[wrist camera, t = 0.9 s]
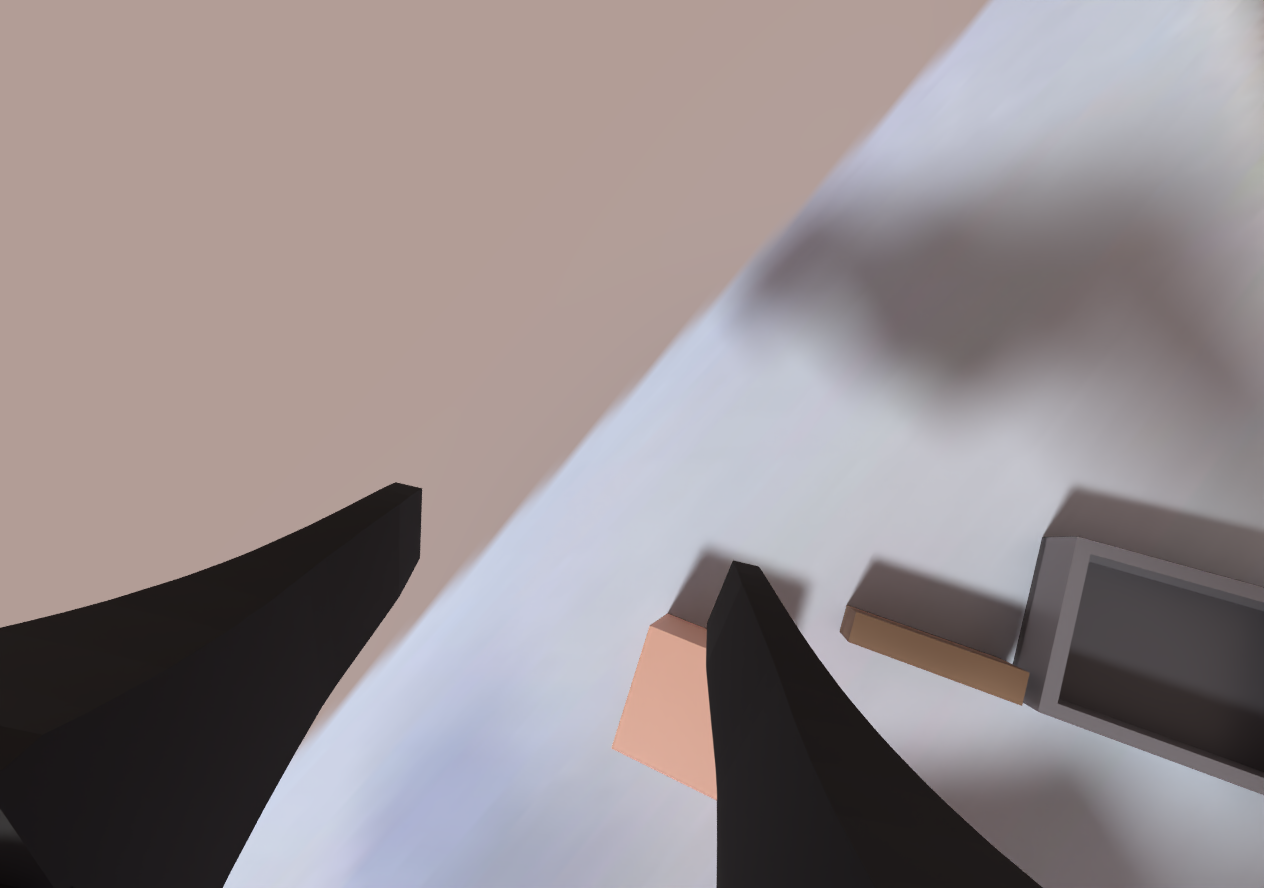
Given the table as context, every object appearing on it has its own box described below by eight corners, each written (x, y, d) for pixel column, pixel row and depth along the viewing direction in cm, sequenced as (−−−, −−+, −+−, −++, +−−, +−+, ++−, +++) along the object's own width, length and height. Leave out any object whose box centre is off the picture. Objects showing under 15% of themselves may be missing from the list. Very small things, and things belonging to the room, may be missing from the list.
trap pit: (1279, 791, 18) (1357, 829, 16) (1006, 692, 20) (1038, 711, 18) (1309, 611, 19) (1389, 621, 16) (1042, 537, 21) (1077, 536, 19)
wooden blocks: (930, 950, 19) (953, 1006, 17) (774, 869, 21) (775, 910, 19) (999, 658, 21) (1029, 672, 18) (846, 605, 22) (856, 612, 20)
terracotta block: (738, 764, 23) (733, 808, 19) (635, 716, 24) (611, 748, 20) (770, 653, 23) (771, 674, 19) (668, 613, 25) (649, 625, 21)
